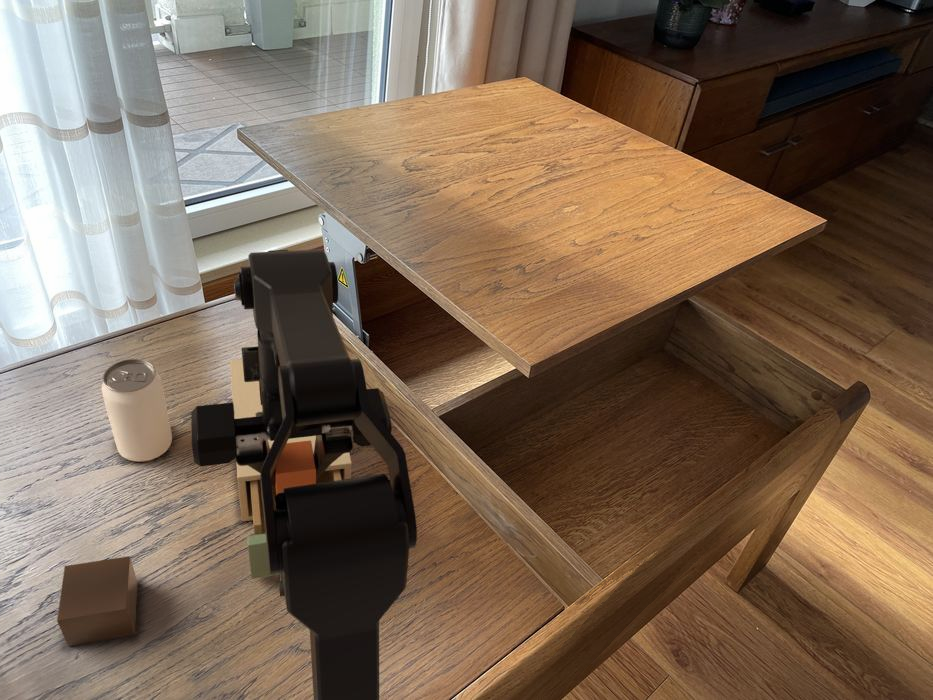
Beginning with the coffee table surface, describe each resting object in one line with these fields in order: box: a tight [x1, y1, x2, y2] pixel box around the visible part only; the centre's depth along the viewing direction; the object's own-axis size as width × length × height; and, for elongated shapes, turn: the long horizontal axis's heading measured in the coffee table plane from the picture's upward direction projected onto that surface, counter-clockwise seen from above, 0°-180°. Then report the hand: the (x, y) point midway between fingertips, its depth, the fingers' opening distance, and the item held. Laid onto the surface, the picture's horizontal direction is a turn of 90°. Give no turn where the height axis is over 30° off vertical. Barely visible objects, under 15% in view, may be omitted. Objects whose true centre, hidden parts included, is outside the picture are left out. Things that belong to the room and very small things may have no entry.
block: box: [275, 440, 316, 494], centre depth 75 cm, size 4×4×4 cm
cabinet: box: [229, 358, 352, 522], centre depth 90 cm, size 20×13×8 cm, turn 16°
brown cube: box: [56, 555, 139, 647], centre depth 72 cm, size 6×6×5 cm
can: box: [101, 358, 173, 463], centre depth 87 cm, size 6×6×12 cm
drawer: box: [246, 469, 342, 598], centre depth 82 cm, size 23×11×6 cm, turn 16°
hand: (294, 478), depth 76 cm, fingers closed on block, 4 cm apart
